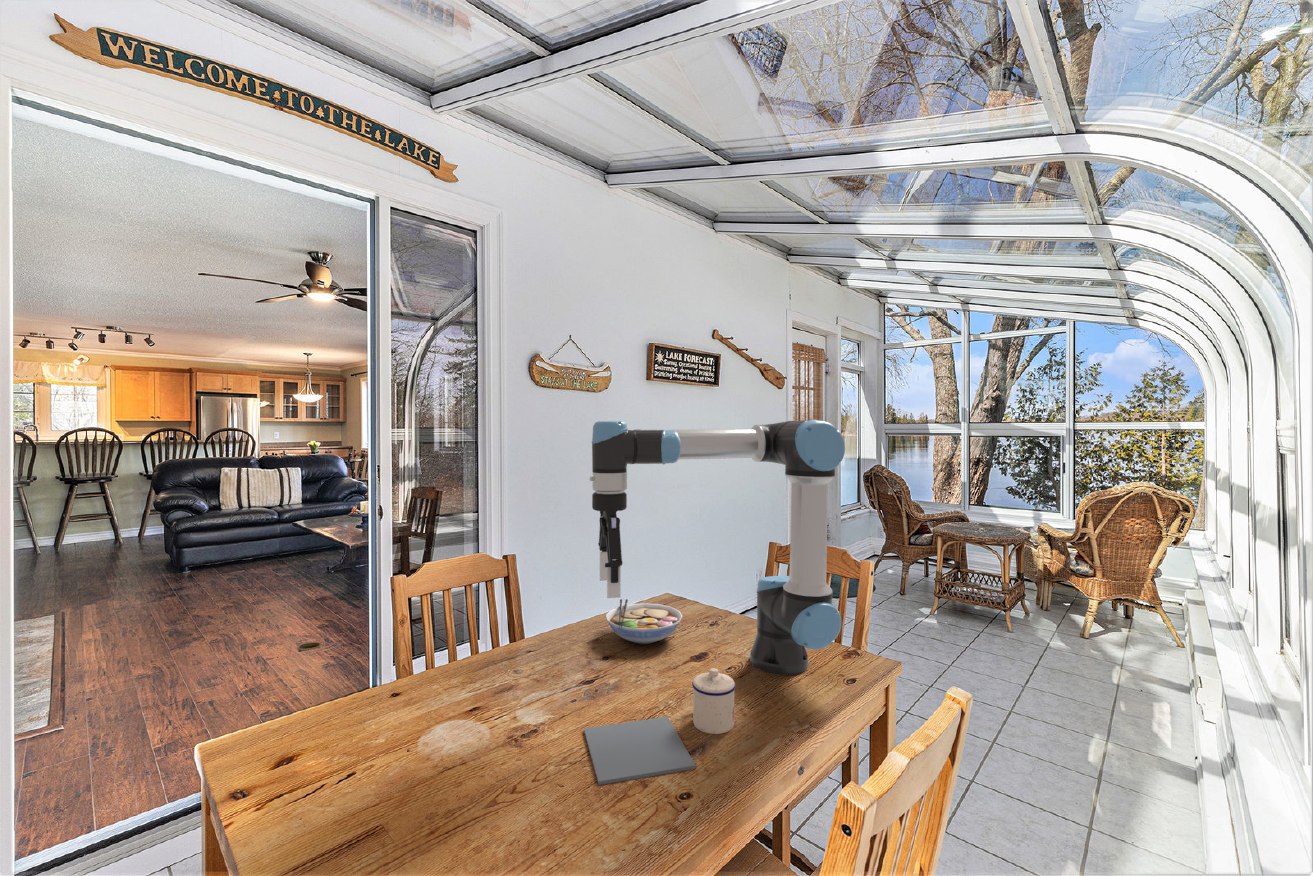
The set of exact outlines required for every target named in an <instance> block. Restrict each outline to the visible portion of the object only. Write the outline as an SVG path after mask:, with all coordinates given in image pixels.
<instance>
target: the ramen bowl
mask: <svg viewBox="0 0 1313 876" xmlns="http://www.w3.org/2000/svg"><path fill="white" fill-rule="evenodd" d="M605 618H606V620H607V623H608V625H609V628H611V630H612V631H613V633H615V634H616V635H617V636H619V637H621V638H622V639H624V640H626V641H629V642H632V643H635V644H639V645H649V644H650V645H651V644H653V643H655V642H658V641H662V640H664V639H666V638H668V637H669V636H671V635H672V634H673V633H674V632H675V631H676V629H677V628H678V626H679V623H680V622H681V620H682V618H683V614H682V613H681V611H680V610H679V609H676V608H674V607H672V606H669V605H664V604H660V603H646V602H645V603H643V602H642V603H629V604H628V599H625V601H624V605H623V599H622V598H621V599H619V606H617V607H614V608H612V609H610V610H608V612H606V614H605Z"/></svg>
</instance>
